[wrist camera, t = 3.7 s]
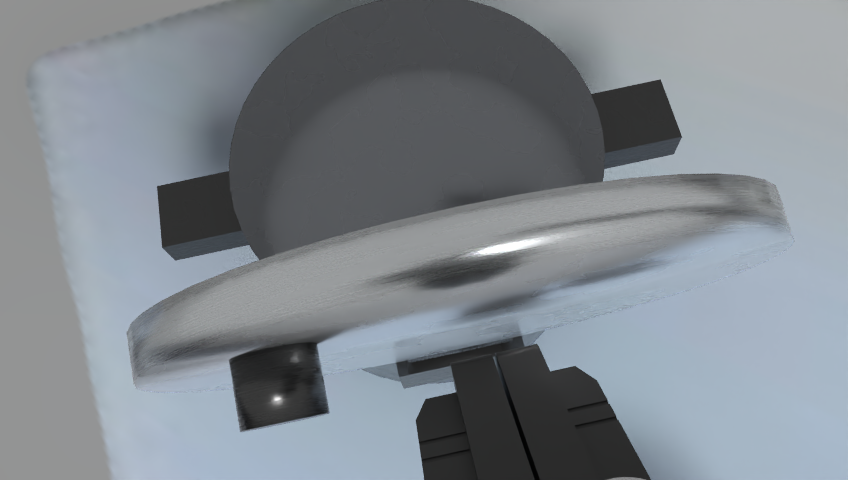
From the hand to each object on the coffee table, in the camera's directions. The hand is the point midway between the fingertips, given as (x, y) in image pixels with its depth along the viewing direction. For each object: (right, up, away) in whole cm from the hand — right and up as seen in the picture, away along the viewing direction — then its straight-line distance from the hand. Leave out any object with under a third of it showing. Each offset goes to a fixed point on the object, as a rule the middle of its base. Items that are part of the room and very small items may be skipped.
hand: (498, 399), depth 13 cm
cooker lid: (0, +2, +9) cm, 9 cm away
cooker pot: (-1, +3, +30) cm, 30 cm away
